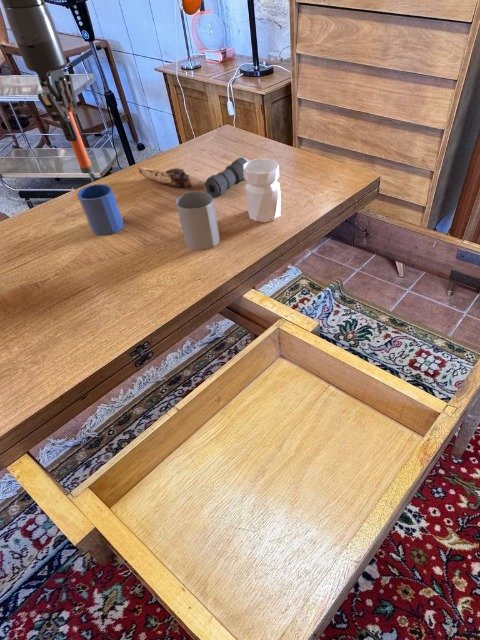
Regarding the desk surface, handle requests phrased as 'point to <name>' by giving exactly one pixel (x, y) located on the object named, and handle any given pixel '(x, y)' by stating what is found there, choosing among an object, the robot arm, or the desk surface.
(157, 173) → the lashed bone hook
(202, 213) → the cup
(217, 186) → the flashlight
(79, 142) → the handle
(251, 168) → the vase
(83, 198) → the blue cup
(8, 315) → the desk surface
